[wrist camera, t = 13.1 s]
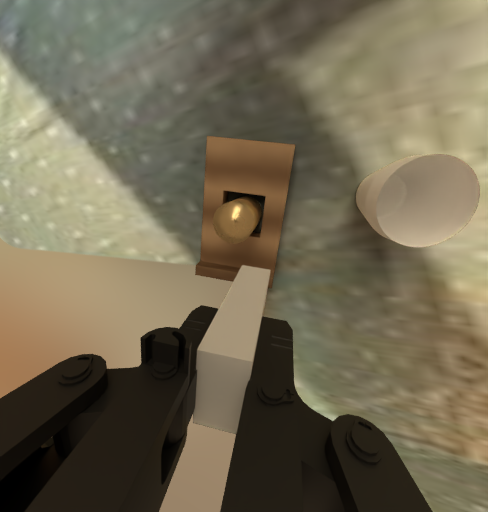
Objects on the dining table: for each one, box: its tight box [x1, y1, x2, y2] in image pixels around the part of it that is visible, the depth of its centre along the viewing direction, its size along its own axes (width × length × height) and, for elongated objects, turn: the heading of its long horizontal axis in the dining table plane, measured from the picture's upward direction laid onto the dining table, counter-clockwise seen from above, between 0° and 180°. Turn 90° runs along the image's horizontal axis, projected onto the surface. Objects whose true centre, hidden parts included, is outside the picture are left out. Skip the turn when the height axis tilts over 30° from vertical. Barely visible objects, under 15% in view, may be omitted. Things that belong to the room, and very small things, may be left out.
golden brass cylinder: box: [213, 196, 262, 243], centre depth 33 cm, size 5×5×10 cm
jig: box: [195, 136, 295, 288], centre depth 36 cm, size 20×12×5 cm, turn 173°
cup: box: [356, 154, 480, 247], centre depth 28 cm, size 9×9×12 cm
